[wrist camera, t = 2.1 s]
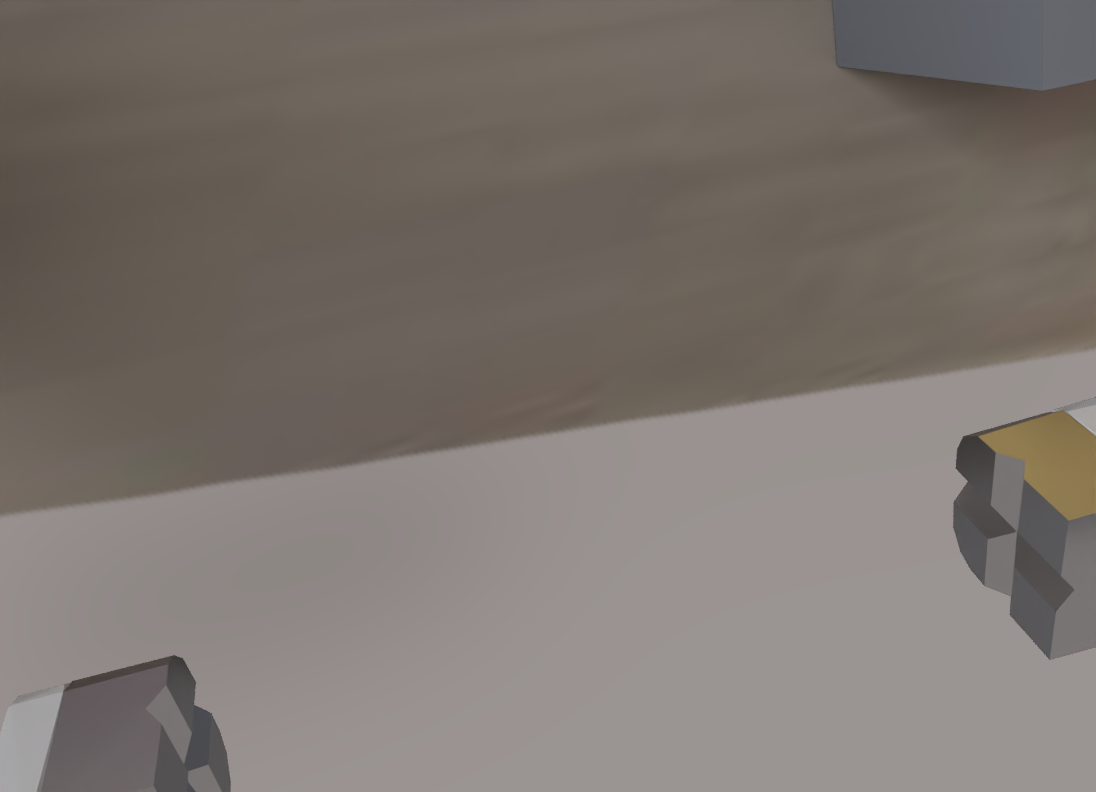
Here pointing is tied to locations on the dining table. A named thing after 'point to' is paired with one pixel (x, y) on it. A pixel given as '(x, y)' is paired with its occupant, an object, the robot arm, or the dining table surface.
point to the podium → (971, 40)
